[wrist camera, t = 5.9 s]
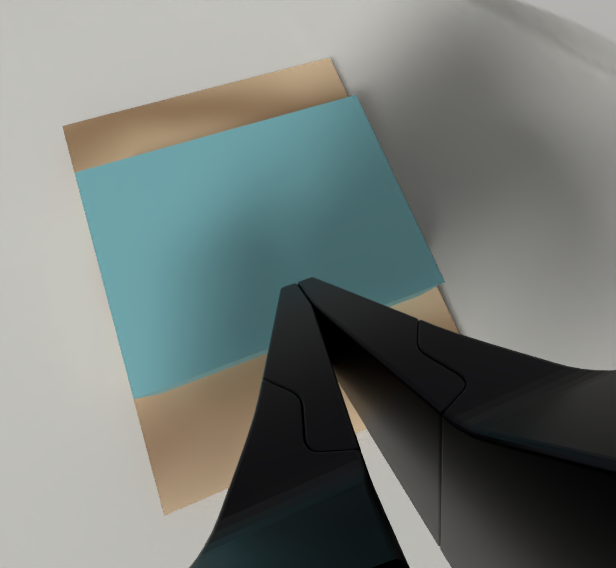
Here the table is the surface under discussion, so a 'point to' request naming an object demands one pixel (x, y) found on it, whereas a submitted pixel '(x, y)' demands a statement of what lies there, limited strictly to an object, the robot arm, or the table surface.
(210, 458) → the cork mat
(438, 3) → the table surface
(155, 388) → the notebook
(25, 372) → the table surface
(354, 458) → the robot arm
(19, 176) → the table surface
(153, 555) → the table surface
